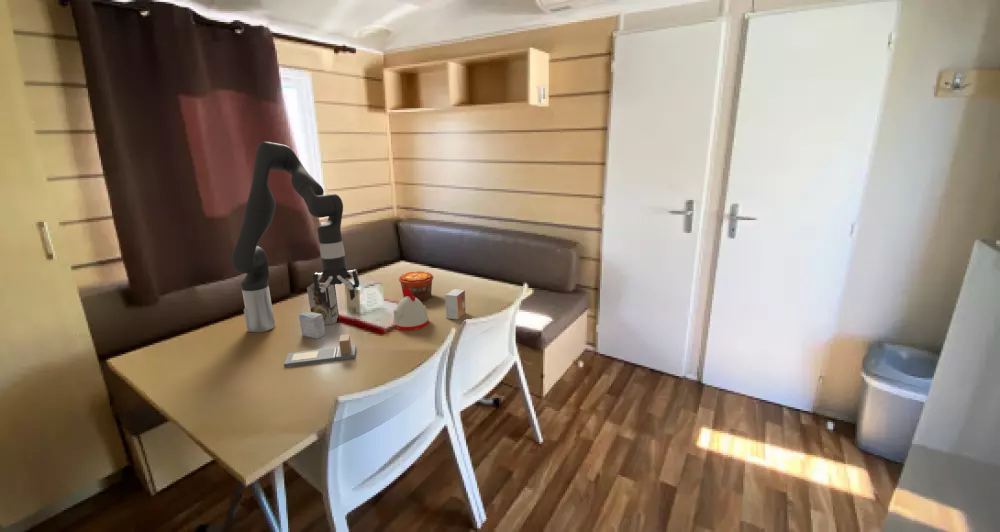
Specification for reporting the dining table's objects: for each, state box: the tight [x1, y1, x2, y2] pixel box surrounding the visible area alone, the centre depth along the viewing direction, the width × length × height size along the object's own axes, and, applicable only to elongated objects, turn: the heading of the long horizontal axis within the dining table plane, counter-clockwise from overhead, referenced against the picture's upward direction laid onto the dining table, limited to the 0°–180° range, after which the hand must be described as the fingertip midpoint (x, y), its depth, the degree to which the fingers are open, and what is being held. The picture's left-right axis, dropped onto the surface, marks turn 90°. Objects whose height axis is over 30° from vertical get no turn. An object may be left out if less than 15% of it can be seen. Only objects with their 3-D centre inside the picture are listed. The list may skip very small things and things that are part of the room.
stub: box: [335, 334, 357, 361], centre depth 153 cm, size 6×8×6 cm
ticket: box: [283, 346, 338, 368], centre depth 151 cm, size 16×8×1 cm, turn 105°
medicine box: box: [298, 311, 326, 340], centre depth 168 cm, size 8×4×9 cm, turn 65°
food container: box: [398, 270, 434, 302], centre depth 207 cm, size 16×16×11 cm
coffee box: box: [306, 282, 340, 325], centre depth 180 cm, size 9×6×16 cm
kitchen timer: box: [393, 288, 429, 331], centre depth 177 cm, size 14×14×15 cm
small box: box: [444, 288, 466, 320], centre depth 185 cm, size 8×6×10 cm
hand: (339, 300), depth 151 cm, fingers open, 8 cm apart
